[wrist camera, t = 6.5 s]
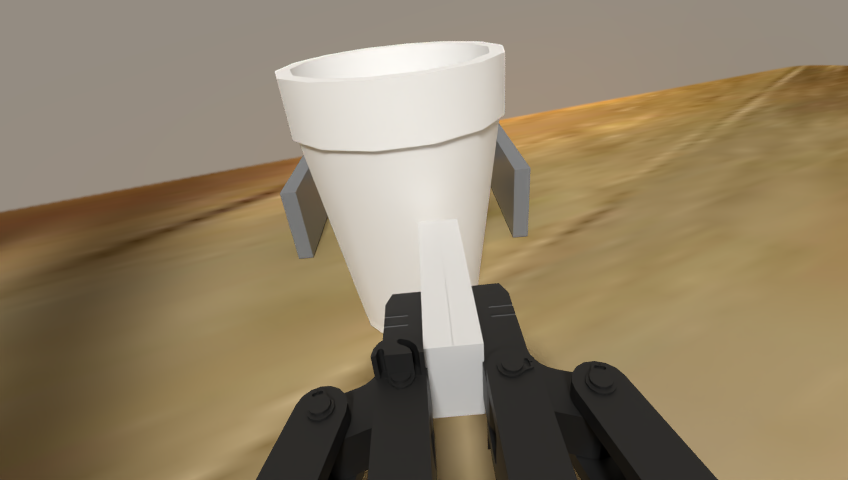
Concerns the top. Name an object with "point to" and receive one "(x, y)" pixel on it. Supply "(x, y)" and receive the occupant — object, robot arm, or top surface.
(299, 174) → the box
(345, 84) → the foam cup
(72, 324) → the top surface
